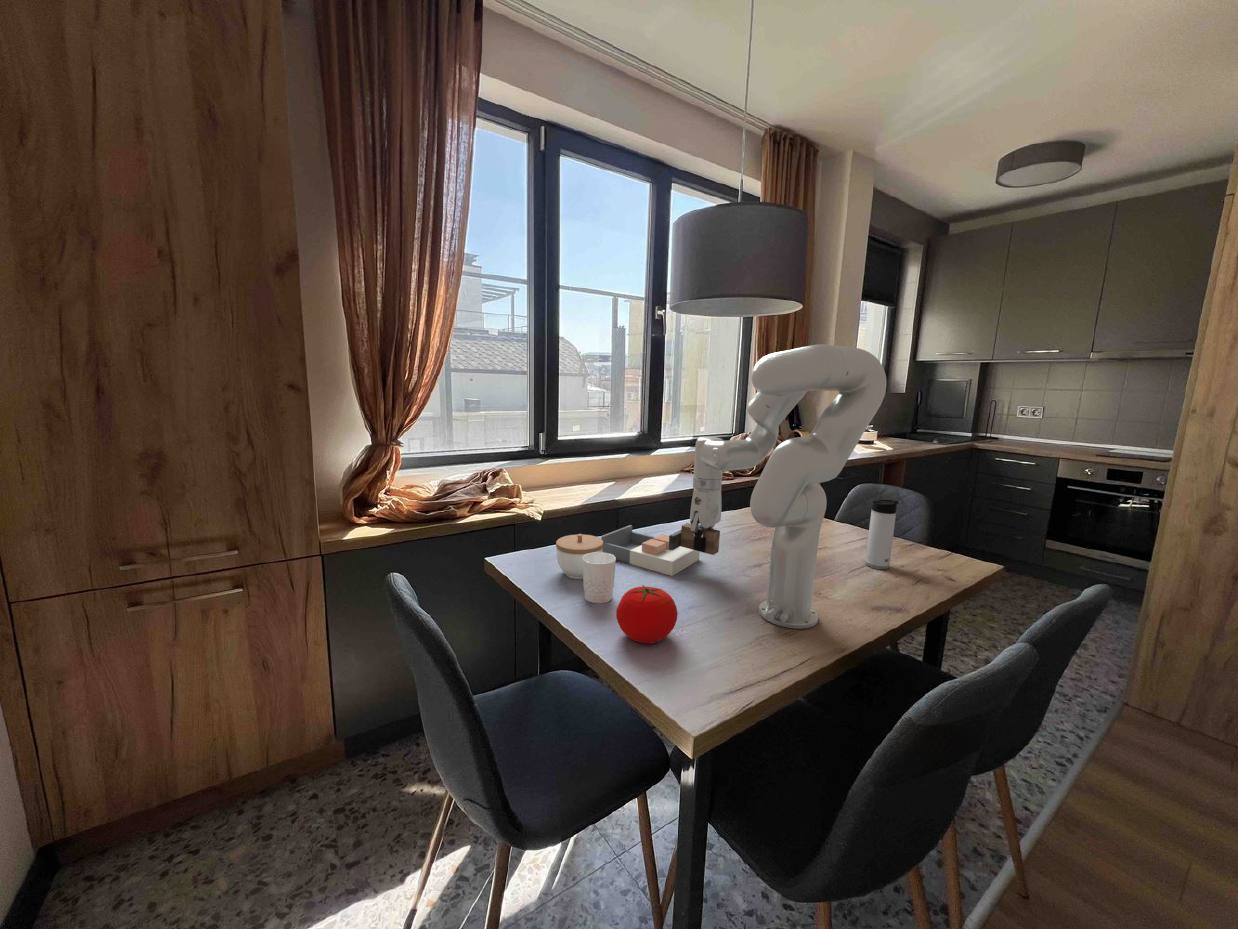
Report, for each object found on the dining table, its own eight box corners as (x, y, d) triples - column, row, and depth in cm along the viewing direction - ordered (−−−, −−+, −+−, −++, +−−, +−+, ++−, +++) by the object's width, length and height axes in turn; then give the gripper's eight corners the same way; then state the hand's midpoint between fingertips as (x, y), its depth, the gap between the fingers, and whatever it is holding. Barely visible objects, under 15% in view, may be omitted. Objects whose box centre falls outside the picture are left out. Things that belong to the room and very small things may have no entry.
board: (671, 575, 130) (672, 561, 130) (629, 563, 138) (630, 550, 138) (699, 559, 143) (699, 546, 142) (658, 549, 151) (659, 537, 151)
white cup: (607, 607, 111) (608, 566, 109) (576, 601, 114) (577, 560, 112) (619, 593, 118) (620, 555, 117) (589, 588, 121) (590, 550, 119)
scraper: (705, 559, 125) (707, 537, 124) (668, 549, 131) (669, 528, 130) (725, 547, 134) (726, 527, 133) (689, 538, 141) (690, 518, 140)
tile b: (667, 549, 139) (667, 541, 139) (652, 545, 142) (653, 538, 142) (676, 545, 143) (676, 537, 143) (661, 541, 146) (662, 534, 146)
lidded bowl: (556, 584, 123) (556, 543, 121) (555, 566, 135) (555, 528, 133) (605, 582, 125) (606, 541, 123) (599, 564, 137) (600, 527, 135)
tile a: (656, 555, 134) (656, 547, 134) (641, 551, 137) (641, 543, 137) (665, 550, 138) (666, 542, 138) (651, 546, 141) (651, 538, 141)
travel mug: (892, 571, 138) (901, 503, 135) (866, 568, 140) (874, 501, 137) (888, 564, 144) (896, 498, 141) (863, 561, 146) (871, 496, 143)
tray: (629, 563, 138) (630, 543, 137) (600, 555, 145) (601, 535, 144) (657, 550, 150) (658, 531, 149) (629, 542, 157) (630, 525, 156)
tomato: (606, 633, 100) (607, 584, 98) (652, 617, 107) (653, 572, 105) (639, 658, 91) (641, 606, 89) (687, 640, 98) (689, 591, 96)
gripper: (706, 490, 120) (701, 560, 123) (732, 481, 133) (727, 544, 136) (679, 486, 124) (675, 553, 128) (708, 476, 137) (703, 538, 141)
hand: (702, 548), depth 132 cm, fingers closed on scraper, 3 cm apart
